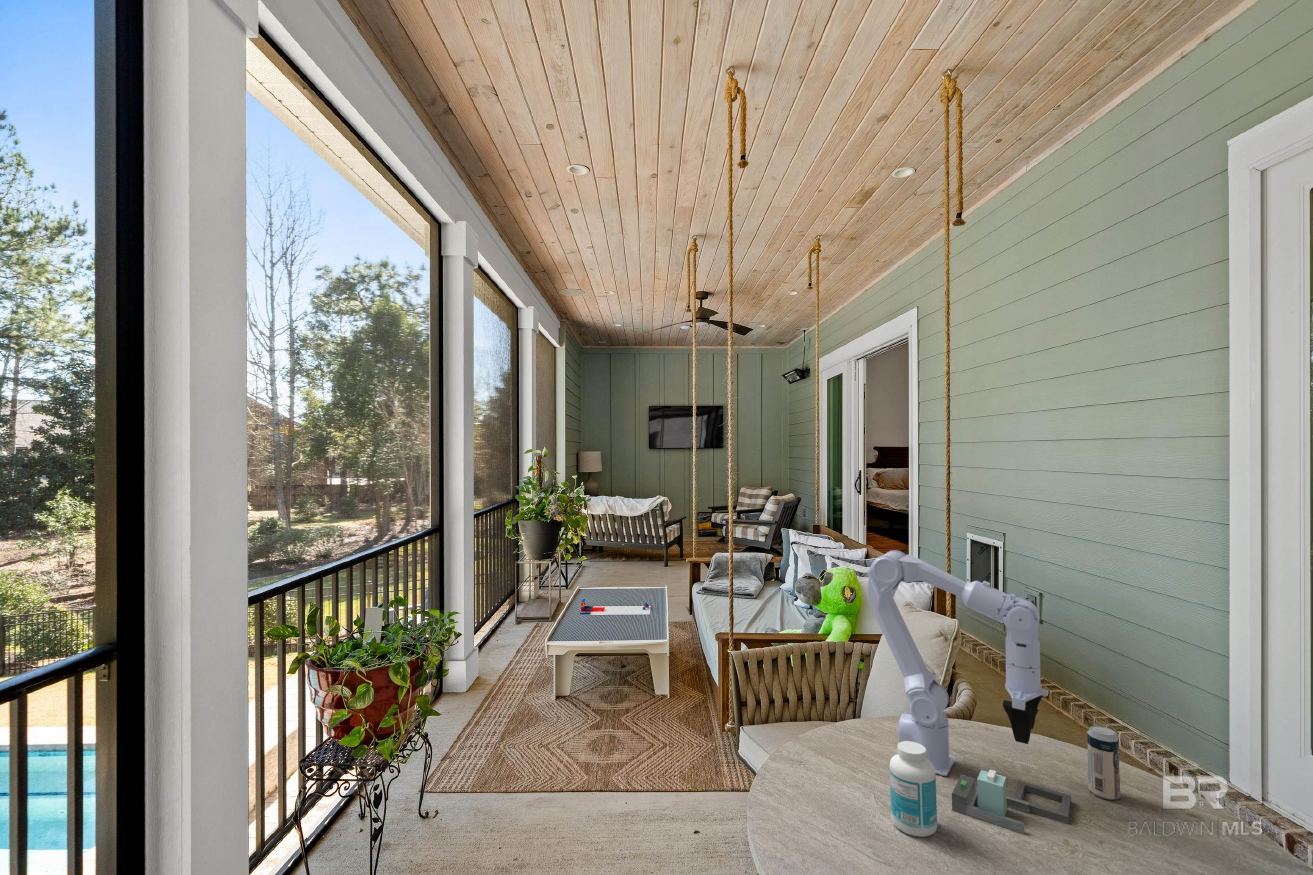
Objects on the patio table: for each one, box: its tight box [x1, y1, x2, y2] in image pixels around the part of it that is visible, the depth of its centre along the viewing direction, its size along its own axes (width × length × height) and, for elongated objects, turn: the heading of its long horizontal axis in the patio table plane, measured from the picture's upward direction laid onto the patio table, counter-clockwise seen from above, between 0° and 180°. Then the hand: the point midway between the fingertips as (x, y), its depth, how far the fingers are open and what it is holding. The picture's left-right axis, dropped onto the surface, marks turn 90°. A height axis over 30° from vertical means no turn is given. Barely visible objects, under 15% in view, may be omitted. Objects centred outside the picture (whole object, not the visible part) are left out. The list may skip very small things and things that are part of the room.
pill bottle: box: [889, 741, 938, 838], centre depth 103 cm, size 8×7×14 cm
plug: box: [976, 769, 1008, 817], centre depth 107 cm, size 4×4×7 cm
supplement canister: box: [1086, 725, 1121, 801], centre depth 113 cm, size 5×5×12 cm
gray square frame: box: [1012, 779, 1072, 825], centre depth 109 cm, size 8×8×1 cm
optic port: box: [951, 773, 1031, 835], centre depth 107 cm, size 11×8×4 cm
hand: (1024, 734), depth 115 cm, fingers open, 7 cm apart
